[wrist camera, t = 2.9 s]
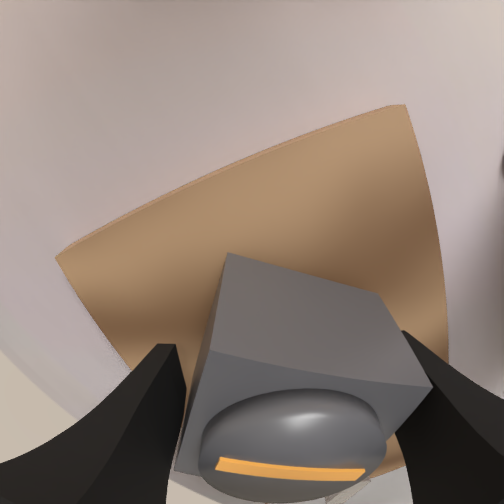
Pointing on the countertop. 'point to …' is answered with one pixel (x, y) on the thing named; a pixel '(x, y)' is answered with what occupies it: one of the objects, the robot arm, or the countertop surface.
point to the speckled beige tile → (346, 493)
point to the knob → (295, 386)
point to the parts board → (274, 240)
